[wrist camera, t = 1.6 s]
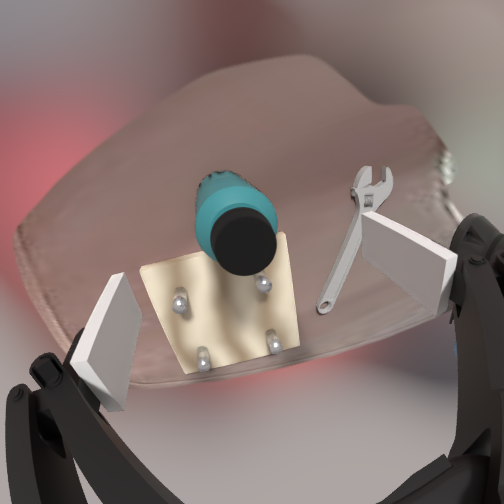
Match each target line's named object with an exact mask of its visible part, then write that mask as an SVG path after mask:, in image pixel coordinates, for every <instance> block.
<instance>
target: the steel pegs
mask: <svg viewBox="0 0 504 504" xmlns="http://www.w3.org/2000/svg"><path fill="white" fill-rule="evenodd" d="M252 276H253V278H254V280H255V283H256V285H257V288H258V290H259V291H260V292H261V293H268V292H270V291H271V289H272V283H271V282H270V280H269V278H268V276H267V274H266V272H265V270H263V271H261V272H259V273H257V274H254V275H252ZM172 309H173V311H174V312H175V313H176V314H183V313H185V312H186V310H187V290H186V289H185V288H184V287H177V288H176V289H175V290H174V298H173V306H172ZM265 336H266V339H267V342H268V345H269V347H270V350H271V352H272V353H273V354H279V353H281V352H282V350H283V347H282V345H281V342H280V340H279V338H278V335H277V333H276V331H275V330H274V329H269V330H267V331H266V332H265ZM197 360H198V369H199V371H201V372H207V371H209V370H210V361H209V351H208V348H207V347H205V346H200V347H198V349H197Z"/></svg>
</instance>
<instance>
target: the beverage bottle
mask: <svg viewBox="0 0 504 504" xmlns="http://www.w3.org/2000/svg"><path fill="white" fill-rule="evenodd" d="M218 171H219V170H218ZM218 171H217V172H216V171H214V173H212V174H210V175H207V177H205V178H204V179H202V180H203V181H202V183H199V189H198V188H197V190H198V192H197V193H196V194H197V197H196V198H197V202H195V203H196V220H195V233H196V238H197V241H198V243H199V245H200V247H201V248H202V250H203V251H204V252H205V253H206V254H207V255H208V256H209V257H210V258H212V259H213V260H215V261H217V262H218V263H219V264H220V266H221V267H222V268H223V269H225V270H226V271H228V272H229V273H231V274H234V275H238V276H250V275H254V274H257V273H259V272H261V271H263V270H264V269H265V268H266V267H268V266H269V265H270V263H271V262H272V260H273V259H274V256H275V254H276V250H277V238H276V234H277V227H278V221H277V215H276V212H275V209H274V207H273V205H272V204H271V202H270V201H269V200H268V198H267V197H266V196H264V195H263V194H262V193H261V192H259V191H257V190H256V189H257V188H256V187H255V186H254V187H255V188H256V189H255V188H254V187H253V186H251V185H249V184H248V181H244V180H243V179H242V178H243V177H242V178H240V177H239V176H240V175H239V176H238V175H236V174H237V173H233V171H232V172H231V171H230V172H227V170H226V171H222V170H221V171H219V172H218ZM228 171H229V170H228ZM245 180H246V179H245ZM249 183H250V182H249Z"/></svg>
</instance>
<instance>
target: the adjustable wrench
mask: <svg viewBox="0 0 504 504" xmlns="http://www.w3.org/2000/svg"><path fill="white" fill-rule="evenodd" d="M371 180H372V167H370V166H364V167H362V168H361V170H360V171H359V172H358V174H357V176H356V178H355V181H354V185H353V187H350V188H351V190H352V191H351V195H352V196H354V197H355V202H356V210H355V214H354V218H353V220H352V223H351V225H350V228H349V230H348V233H347V235H346V238H345V240H344V242H343V245H342V247H341V249H340V252H339V254H338V256H337V259H336V261H335V263H334V266H333V268H332V270H331V272H330V275H329V277H328V279H327V281H326V284H325V286H324V288H323V290H322V292H321V294H320V296H319V299H318V301H317V303H316V308H317V310H318V311H319V312H320V313H322V314H325V313H328V312H329V311H330V310H331V309H332V307H333V305H334V303H335V301H336V299H337V296H338V294H339V292H340V290H341V288H342V285H343V283H344V281H345V279H346V276H347V274H348V272H349V269H350V267H351V265H352V262H353V260H354V258H355V255H356V253H357V250H358V248H359V245H360V243H361V240H362V223H361V213H366V212H370V211H373V212H375V211H376V210H377V208H378V207H379V206H380V205H381V203H382V202H383V201H384V200H385V199H386V198H387V197H388V196H389V194H390V193H391V190H392V187H393V177H392V173H391V171H390V169H389V168H388V167H384V166H382V179H381V181H380V182H379V183H378V184H377V185H375V186H371V185H370V184H369V183H371ZM326 301H328V305H327V306H326V307H325V308H323V309H321V308H320V305H321V304H322V303H324V302H326Z"/></svg>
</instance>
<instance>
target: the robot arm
mask: <svg viewBox="0 0 504 504" xmlns="http://www.w3.org/2000/svg"><path fill="white" fill-rule="evenodd" d="M361 223H362V258H364V259H365V260H366V261H368V262H369V263H370V264H372V265H373V266H374V267H375V268H377V269H378V270H379V271H381V272H382V273H383V274H384V275H386V276H387V277H388V278H389V279H391V280H392V281H393V282H394V283H396V284H397V285H398V286H399V287H401V288H402V289H403V290H404V291H406V292H407V293H408V294H409V295H410V296H412V297H413V298H414V299H415V300H416V301H418V302H419V303H420V304H421V305H422V306H424V307H425V308H426V309H427V310H428V311H430V312H431V313H432V314H433V315H434V316H435V317H436V316H438V315H440V314H442V313H444V312H445V311H447V308H448V304H449V299H451V300H452V301H453V302H454V307H453V311H452V314H451V319H450V324H451V323H452V320H453V319H454V322H455V323H454V324H455V332H456V343H455V347H454V349H455V355H456V357H457V359H458V411H457V426H456V436H455V440H454V443H453V445H452V447H451V450H450V452H449V455H448V459H447V457H446V456H445V455H444V454H443V455H441V456H440V457H439V458H437V459H436V460H434V461H433V462H431V463H430V464H428V465H427V466H425V467H424V468H422V469H421V470H419V471H417V472H416V473H414V474H413V475H412V476H410V478H408V479H407V480H406V481H405V482H404V483H403V484H402V485H401V486H400V487H398V488H397V489H396V490H395V491H394V492H392V493H391V494H390V495H389V496H388V497H387V498H385V499H384V500H383V501H381V502H379V503H376V504H504V234H502V233H500V232H499V231H498V230H497V228H495V226H494V225H493V224H491V222H489V221H488V220H487V219H486V218H485V217H484V216H481V215H479V214H476V213H473V214H470V215H468V216H467V217H466V218H465V219H464V220H463V221H462V222H461V224H460V225H459V227H458V229H457V230H456V232H455V235H454V237H453V240H452V243H451V247H450V249H448V248H445V247H444V246H442V245H440V244H439V243H437V242H435V241H433V240H430V239H428V238H426V237H424V236H422V235H420V234H418V233H416V232H414V231H412V230H410V229H408V228H406V227H404V226H402V225H400V224H398V223H396V222H394V221H392V220H390V219H388V218H386V217H384V216H381V215H379V214H377V213H375V212H373V211H370V212H366V213H361ZM142 316H143V315H142V313H141V310H140V308H139V306H138V304H137V301H136V299H135V297H134V294H133V292H132V290H131V287H130V285H129V283H128V280H127V278H126V275H125V273H124V272H123V273H119V274H115V275H112V276H111V278H110V280H109V282H108V283H107V285H106V287H105V289H104V291H103V293H102V295H101V297H100V299H99V301H98V303H97V305H96V307H95V309H94V311H93V313H92V315H91V317H90V319H89V321H88V323H87V325H86V327H85V328H82V329H81V330H80V331H79V332H78V333H77V335H76V336H75V338H74V340H73V342H72V345H71V347H70V349H69V351H68V353H67V356H66V358H65V360H64V362H63V365H62V364H61V362H60V361H59V359H58V358H57V357H56V355H55V354H54V353H50V352H49V353H44V354H43V355H41V356H39V357H38V358H37V359H35V360H34V362H33V363H32V364H31V367H30V371H29V372H30V375H31V376H32V377H33V379H34V380H35V381H36V382H37V384H38V385H39V386H40V387H41V389H39V390H36V391H33V392H32V391H31V390H30V389H29V388H28V386H27V385H26V384H19V385H17V386H15V387H13V388H12V389H11V390H10V392H9V394H8V397H7V401H6V422H5V440H6V441H5V442H6V462H7V473H8V482H9V489H10V496H11V501H12V504H88V503H87V500H86V498H85V495H84V492H83V489H82V486H81V483H80V480H79V477H78V474H77V471H76V467H75V464H74V460H73V458H74V459H75V461H76V463H77V464H78V466H79V468H80V470H81V471H82V473H83V475H84V476H85V478H86V479H87V481H88V483H89V484H90V486H91V487H92V489H93V490H94V492H95V493H96V495H97V496H98V497H99V499H100V500H101V502H102V503H103V504H184V503H183V502H182V501H181V500H180V499H178V498H177V497H176V496H175V495H174V494H173V493H172V492H171V491H170V490H168V489H167V488H166V487H165V486H164V485H163V484H162V483H161V482H160V481H159V480H158V479H157V478H156V477H155V476H154V475H153V474H152V473H151V472H150V471H149V470H148V469H147V468H146V467H145V466H144V465H143V463H142V462H141V461H140V460H139V459H138V458H137V457H136V456H135V455H134V453H133V452H132V451H131V450H130V449H129V448H128V447H127V445H126V444H125V443H124V442H123V441H122V439H121V438H120V437H119V436H118V434H117V433H116V432H115V431H114V429H113V428H112V427H111V425H110V424H109V423H108V421H107V420H106V419H105V417H104V416H103V415H102V414H101V413H100V412H99V407H100V403H101V404H102V405H103V406H104V408H105V409H106V410H107V411H108V412H114V411H124V410H125V403H126V396H127V391H128V385H129V379H130V373H131V368H132V363H133V357H134V352H135V348H136V343H137V338H138V334H139V329H140V325H141V320H142Z"/></svg>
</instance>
